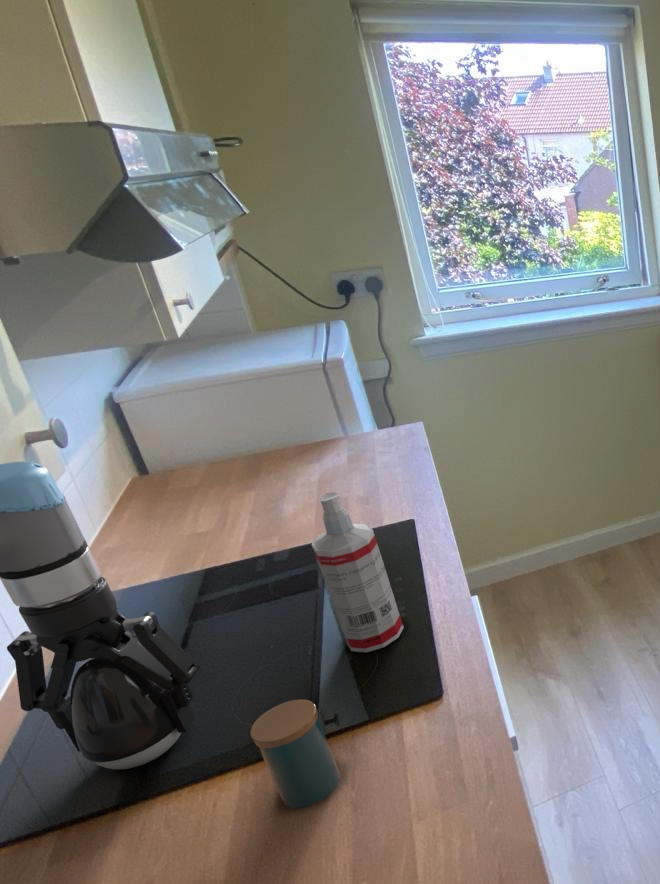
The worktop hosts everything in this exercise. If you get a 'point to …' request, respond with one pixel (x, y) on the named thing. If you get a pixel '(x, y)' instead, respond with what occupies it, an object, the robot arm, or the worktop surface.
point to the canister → (296, 752)
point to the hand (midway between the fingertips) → (138, 733)
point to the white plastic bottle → (356, 579)
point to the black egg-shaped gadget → (119, 715)
